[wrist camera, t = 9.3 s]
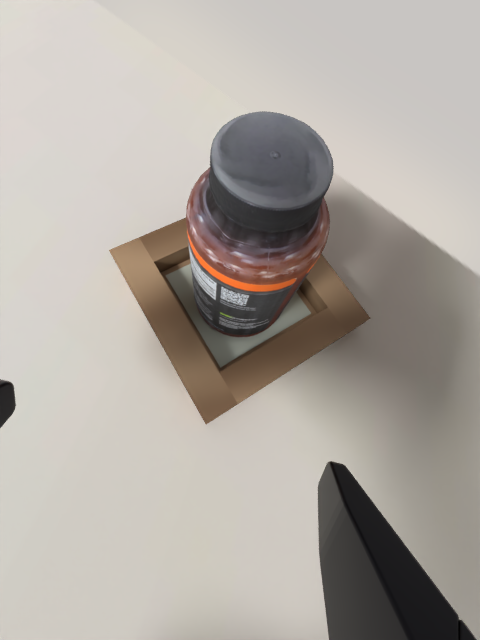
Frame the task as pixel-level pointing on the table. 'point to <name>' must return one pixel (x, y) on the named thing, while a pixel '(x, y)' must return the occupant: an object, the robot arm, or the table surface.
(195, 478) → the table surface
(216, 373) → the socket block
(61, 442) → the table surface
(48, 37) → the table surface
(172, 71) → the table surface
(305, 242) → the supplement bottle
